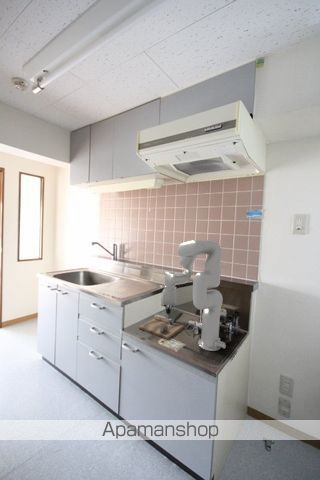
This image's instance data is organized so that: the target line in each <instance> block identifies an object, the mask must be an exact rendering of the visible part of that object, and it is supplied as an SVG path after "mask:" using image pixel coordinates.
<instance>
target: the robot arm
mask: <svg viewBox="0 0 320 480" xmlns="http://www.w3.org/2000/svg"><path fill="white" fill-rule="evenodd" d="M222 251H223V250H222V247H221V245H220V244H219V243H218V242H217V241H215V240H212V239H193V240H188V241H185V242H181V243H180V244H179V245H178V247H177V255H178V256H179V257H180V259H178V260H179V261H178V263H179V265H180V266H181V267H182V268H184V269H183V271H182V272H175V271H173V270H166V271H165V273H164V282H163V283H164V284H163V290H162V291H161V299H160V301H161V303H160V306H161V307H164V308H165V313H166V315H170V314H171V309H172V308H173V307H176V306H177V293H176V290H177V286H176V285H183V284H186V283H188V282H189V280H190V279H191V277H192V275H193V267H192V266H193V264H194V262H196V259H197V257H198V256H204V255H207V257H206V259H205V262H204V271H199V272H196V273H195V275H194V276H193V279H192V302H193V306H194V307H195V309H197V310H199V311H200V310H203V315H202V326H201V334H200V335H201V338H200V339H198V341H197V342H198V346H199V347H200V348H201V349H203V350H205V351H209V352H216V351H219V350H221V348H222V349H226V346H227V345H226V342H224V341H221V338H220V337H219V334H220V321H221V320H220V319H221V309H222V305H223V299H224V298H223V294H222V293H221V292H220V291H219V290H218V289H215V288H218V287H219V285H220V284H221V269H222V267H221V264H222V263H221V261H222V253H223V252H222Z"/></svg>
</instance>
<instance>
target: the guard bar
mask: <svg viewBox="0 0 320 480" xmlns="http://www.w3.org/2000/svg"><path fill="white" fill-rule="evenodd" d="M153 319H157V320H161V321H164V322H167V323H169V324H174V323H175V318H173V317H170V318H169V317H167V316H163V315H160V314H157V313H156V314H154V317H153Z"/></svg>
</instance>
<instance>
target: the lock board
mask: <svg viewBox="0 0 320 480" xmlns="http://www.w3.org/2000/svg"><path fill="white" fill-rule="evenodd" d="M164 325H167V326H168V330H167V331H166V332H165V333H160V328H161V327H162V326H164ZM184 329H185V325H183V324H180V323H177V322H174V324H169V323H167V322H164V321H161V320H157V319H154V318H152V319H150V320H148V321H146V322H145V323H143V324H141V325H139V326H138V330H142V331H144V332H146V333H148V334H152V335H154V336H157V337H160V338H162V339H164V340H170V339H171V338H172V337H173V336H174V335H176V334H178V333H179V332H180V331H182V330H184Z"/></svg>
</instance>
